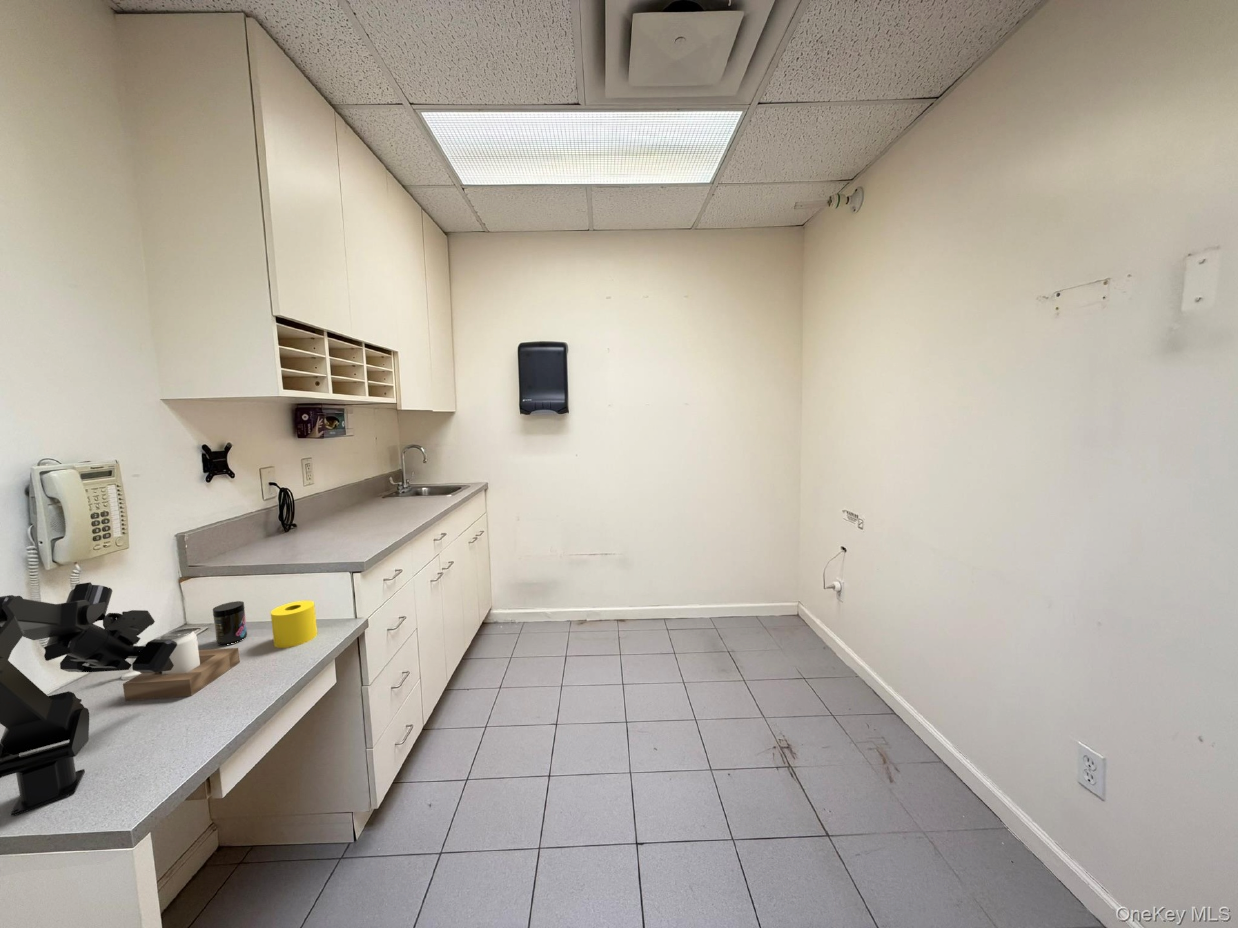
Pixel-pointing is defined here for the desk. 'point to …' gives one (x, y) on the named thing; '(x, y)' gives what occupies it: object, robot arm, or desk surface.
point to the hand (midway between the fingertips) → (150, 667)
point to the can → (183, 651)
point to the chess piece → (130, 671)
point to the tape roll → (293, 624)
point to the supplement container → (230, 622)
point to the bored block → (182, 677)
